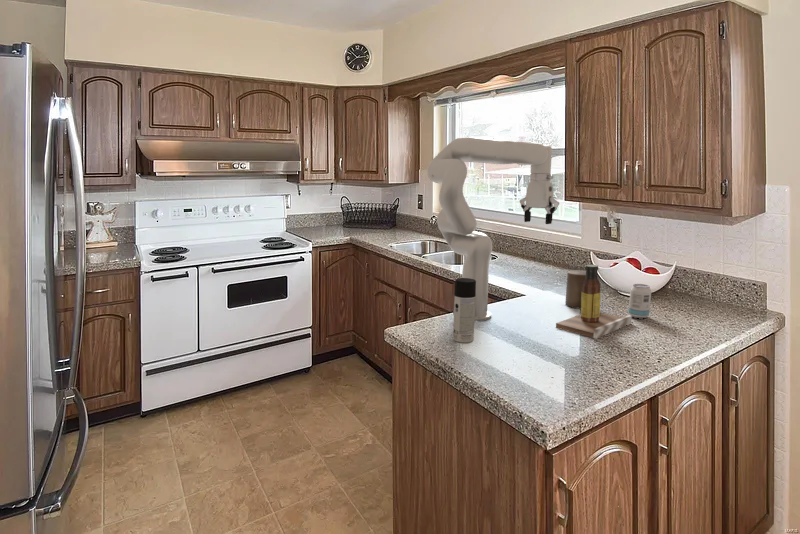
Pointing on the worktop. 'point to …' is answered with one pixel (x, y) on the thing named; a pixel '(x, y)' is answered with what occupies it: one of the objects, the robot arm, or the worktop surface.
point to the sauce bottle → (590, 295)
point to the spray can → (464, 310)
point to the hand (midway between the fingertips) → (537, 222)
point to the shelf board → (594, 325)
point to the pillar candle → (574, 288)
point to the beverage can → (639, 301)
